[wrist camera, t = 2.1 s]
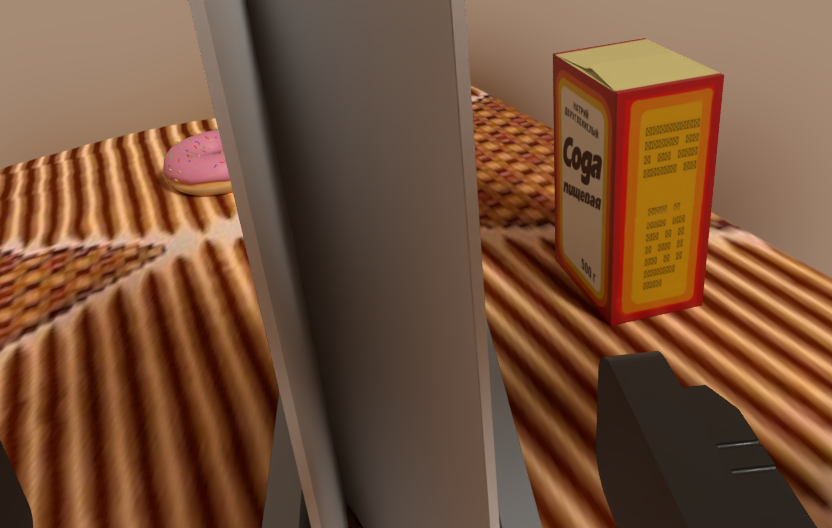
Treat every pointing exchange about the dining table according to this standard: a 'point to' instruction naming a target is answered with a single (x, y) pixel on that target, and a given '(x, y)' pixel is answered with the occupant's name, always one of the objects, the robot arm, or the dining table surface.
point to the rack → (516, 502)
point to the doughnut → (198, 166)
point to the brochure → (363, 246)
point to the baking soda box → (634, 175)
